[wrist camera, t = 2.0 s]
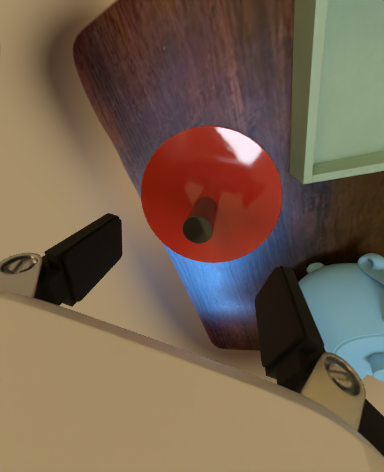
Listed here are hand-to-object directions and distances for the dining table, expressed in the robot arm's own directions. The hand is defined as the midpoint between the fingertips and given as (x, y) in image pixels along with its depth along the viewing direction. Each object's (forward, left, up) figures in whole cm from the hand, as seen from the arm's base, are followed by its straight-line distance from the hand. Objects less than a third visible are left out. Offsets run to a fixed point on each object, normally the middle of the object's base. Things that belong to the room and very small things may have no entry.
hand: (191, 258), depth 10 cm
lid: (0, 0, -8) cm, 8 cm away
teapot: (+28, +2, -19) cm, 34 cm away
